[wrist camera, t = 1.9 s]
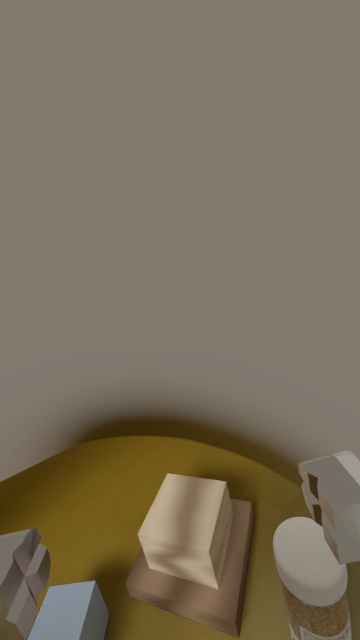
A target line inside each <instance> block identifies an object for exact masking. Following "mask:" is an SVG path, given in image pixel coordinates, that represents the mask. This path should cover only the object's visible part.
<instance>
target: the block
mask: <svg viewBox="0 0 360 640" xmlns="http://www.w3.org/2000/svg"><path fill="white" fill-rule="evenodd" d="M108 618H109V612H108V609H107V607H106V604H105V602H104V600H103V597H102V595H101V592H100V590H99V588H98V585H97V583H96V580H95V581H88V582H80V583H73V584H66V585H59V586H52V587H49V589H48V592H47V594H46V597H45V599H44V601H43V604H42V606H41V609H40V611H39V614H38V616H37V618H36V621H35V623H34V626H33V628H32V631H31V633H30V635H29V638H28V640H104V636H105V632H106V627H107V622H108Z"/></svg>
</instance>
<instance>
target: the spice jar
mask: <svg viewBox="0 0 360 640" xmlns="http://www.w3.org/2000/svg"><path fill="white" fill-rule="evenodd" d="M273 551H274V558H275V562H276V567H277V571H278V574H279V576H280V578H281V580H282V586H283V592H284V599H285V607H286V612H287V618H288V623H289V629H290V634H291V640H352V633H351V623H350V612H349V606H348V601H347V596H346V587H347V568H346V564H342V565H340V564H339V563H338V561H337V559H336V558H335V556H334V554H333V552H332V551H331V549H330V547H329V545H328V544H327V542H326V540H325V539H324V532H323V527H322V526H320V525H319V524H317V523H316V522H315V521H314V520H313V519H310V518H306V517H293V518H289V519H287V520H285V521H284V522H282V523H281V524H280V525H279V526H278V528H277V529H276V531H275V534H274V537H273Z"/></svg>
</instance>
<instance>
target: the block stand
mask: <svg viewBox="0 0 360 640" xmlns="http://www.w3.org/2000/svg"><path fill="white" fill-rule="evenodd" d="M253 519H254V510H253V506H252V502H250V501H244V500H238V499H232V498H230V496H229V492H228V487H227V483H226V481H219V480H211V479H204V478H197V477H189V476H182V475H175V474H167V476H166V478H165V480H164V482H163V484H162V486H161V488H160V490H159V492H158V494H157V496H156V498H155V500H154V502H153V504H152V506H151V508H150V510H149V512H148V514H147V516H146V518H145V520H144V522H143V524H142V526H141V528H140V530H139V532H138V537H139V540H140V543H141V545H142V548H141V550H140V552H139V555H138V557H137V559H136V561H135V563H134V565H133V568H132V570H131V572H130V574H129V576H128V579H127V581H126V583H125V586H126V588H127V591H128V593H129V596H130V597H131V598H134V599H136V600H139V601H142V602H144V603H147V604H150V605H152V606H155V607H158V608H160V609H163V610H166V611H169V612H171V613H174V614H177V615H179V616H182V617H185V618H187V619H190V620H193V621H195V622H198V623H201V624H203V625H206V626H209V627H211V628H214V629H217V630H220V631H222V632H225V633H228V634H230V635H233V636H236V637H238V638H239V633H240V625H241V617H242V609H243V601H244V593H245V585H246V576H247V568H248V560H249V552H250V544H251V536H252V528H253Z"/></svg>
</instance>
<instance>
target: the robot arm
mask: <svg viewBox="0 0 360 640" xmlns="http://www.w3.org/2000/svg"><path fill="white" fill-rule="evenodd" d="M298 468H299V474H300V475H301V477H302V479H303V480H304V482H303V483H302V485H301V487H302V492H303V496H304V499H305V502H306V505H307V507H308V509H309V512H310V514H311V516H312V517H313V519H314V521H315V522H316V523H317V524H319V525H320V526H322V527H323V532H324V539H325V540H326V542H327V544H328V545H329V547H330V549H331V551H332V552H333V554H334V556H335V558H336V559H337V561H338V563H339V564H340V565H342V564H347V563H351V562H356V561H360V461H359V460H358V459H357V458H356V457H355V456H354V454H353V453H351V452H350V451H348V450H346V451H343V452H339V453H335V454H331V455H327V456H323V457H319V458H316V459H312V460H308V461H304V462H300V463H299V465H298ZM40 540H41V535H40V533H39V531H38V529H28V530H23V531H19V532H14V533H10V534H5V535H1V536H0V640H26V639H27V637H28V634H29V631H30V628H31V626H32V623H33V620H34V618H35V615H36V612H37V609H38V608H37V603H36V599H37V598H38V597H39V595H40V594H41V593H42V592H43V590H44V589H45V587H46V584H47V581H48V578H49V574H50V566H51V561H50V554H49V552H48V550H47V548H46V547H44V546H43V545H41V544H39V543H40Z"/></svg>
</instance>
